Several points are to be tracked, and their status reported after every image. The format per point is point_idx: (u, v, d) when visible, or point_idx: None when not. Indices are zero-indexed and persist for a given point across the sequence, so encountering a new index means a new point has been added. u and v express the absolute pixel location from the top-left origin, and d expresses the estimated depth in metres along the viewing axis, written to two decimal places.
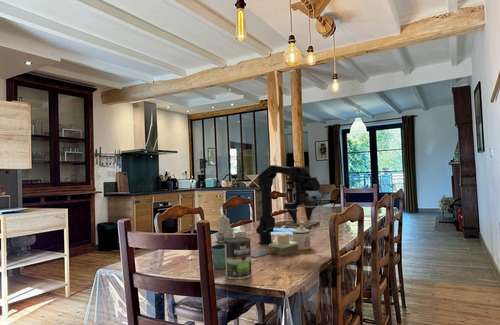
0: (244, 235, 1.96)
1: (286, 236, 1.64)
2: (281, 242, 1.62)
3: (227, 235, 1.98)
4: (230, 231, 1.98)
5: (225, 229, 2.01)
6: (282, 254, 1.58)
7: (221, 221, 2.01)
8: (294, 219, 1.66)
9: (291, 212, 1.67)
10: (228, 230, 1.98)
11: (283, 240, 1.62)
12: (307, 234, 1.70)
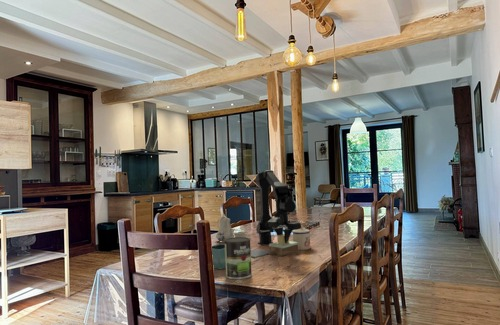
0: (244, 235, 1.96)
1: None
2: (281, 242, 1.62)
3: (227, 235, 1.98)
4: (230, 231, 1.98)
5: (225, 229, 2.01)
6: (282, 254, 1.58)
7: (221, 221, 2.01)
8: None
9: None
10: (228, 230, 1.98)
11: (283, 240, 1.62)
12: (307, 234, 1.70)
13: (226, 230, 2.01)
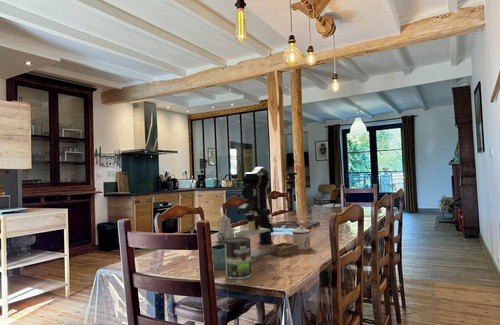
0: (245, 235, 1.97)
1: None
2: (251, 228, 1.64)
3: (228, 235, 1.98)
4: (231, 231, 1.98)
5: (226, 229, 2.01)
6: (282, 254, 1.58)
7: (222, 221, 2.02)
8: None
9: None
10: (229, 230, 1.98)
11: (254, 226, 1.64)
12: (307, 234, 1.70)
13: (226, 230, 2.01)
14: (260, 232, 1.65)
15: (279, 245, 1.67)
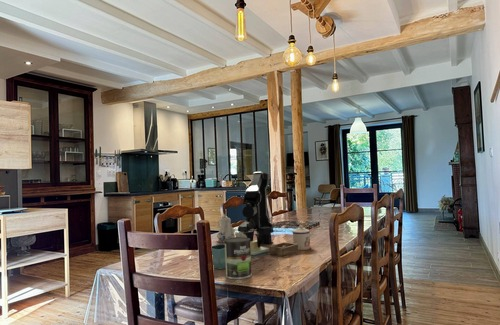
0: (245, 235, 1.97)
1: None
2: (252, 248, 1.63)
3: (228, 235, 1.98)
4: (231, 231, 1.98)
5: (226, 229, 2.01)
6: (282, 254, 1.58)
7: (222, 221, 2.02)
8: None
9: None
10: (229, 230, 1.98)
11: (255, 246, 1.64)
12: (307, 234, 1.70)
13: (227, 230, 2.01)
14: (261, 252, 1.64)
15: (279, 245, 1.67)
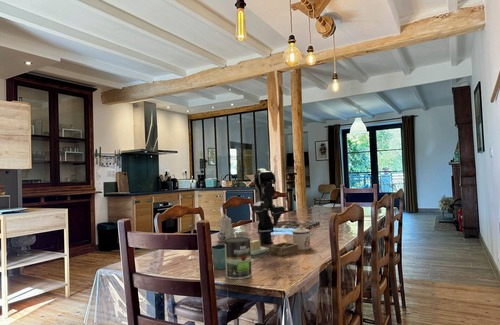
0: (245, 235, 1.97)
1: (258, 242, 1.65)
2: (252, 248, 1.63)
3: (228, 235, 1.98)
4: (231, 231, 1.98)
5: (226, 229, 2.01)
6: (282, 254, 1.58)
7: (222, 221, 2.02)
8: None
9: None
10: (229, 230, 1.98)
11: (255, 246, 1.64)
12: (307, 234, 1.70)
13: (227, 230, 2.01)
14: (261, 252, 1.64)
15: (279, 245, 1.67)
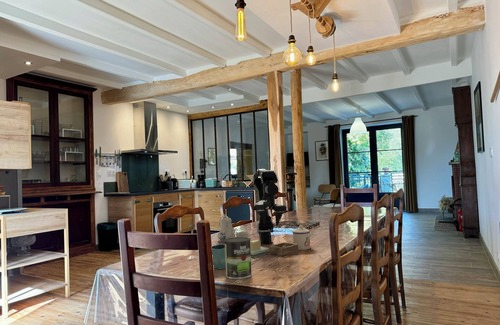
0: (246, 235, 1.97)
1: (258, 242, 1.65)
2: (252, 248, 1.63)
3: (229, 235, 1.98)
4: (232, 231, 1.98)
5: (227, 229, 2.01)
6: (282, 254, 1.58)
7: (223, 221, 2.02)
8: None
9: None
10: (230, 230, 1.98)
11: (255, 246, 1.64)
12: (307, 234, 1.70)
13: (227, 230, 2.01)
14: (261, 252, 1.64)
15: (279, 245, 1.67)
